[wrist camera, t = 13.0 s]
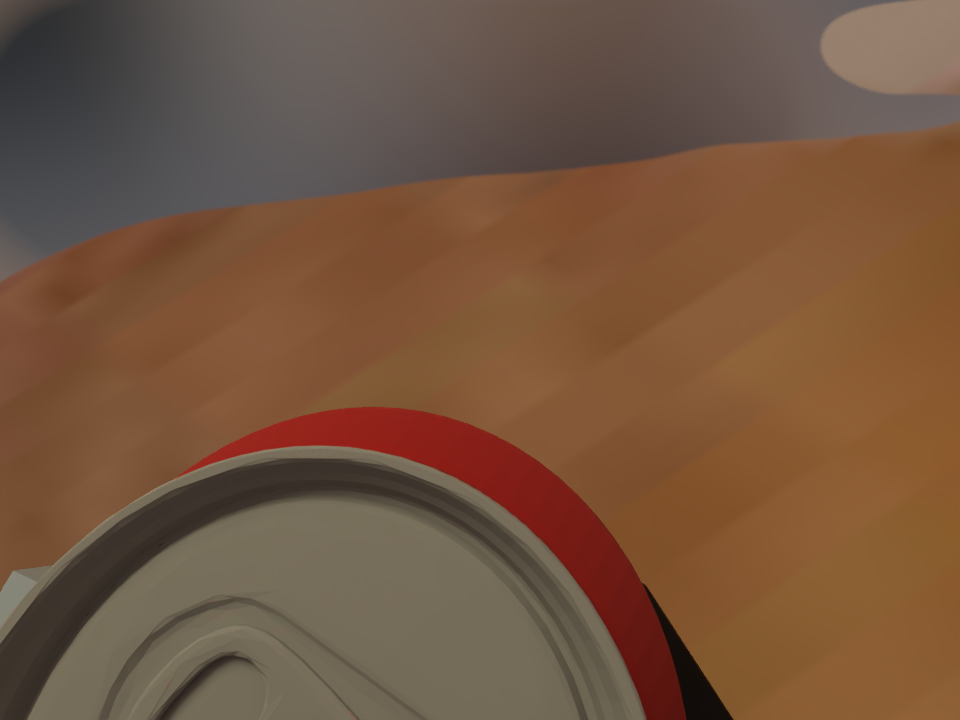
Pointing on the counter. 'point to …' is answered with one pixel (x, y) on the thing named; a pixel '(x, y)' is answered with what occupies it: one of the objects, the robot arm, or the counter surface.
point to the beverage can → (345, 590)
